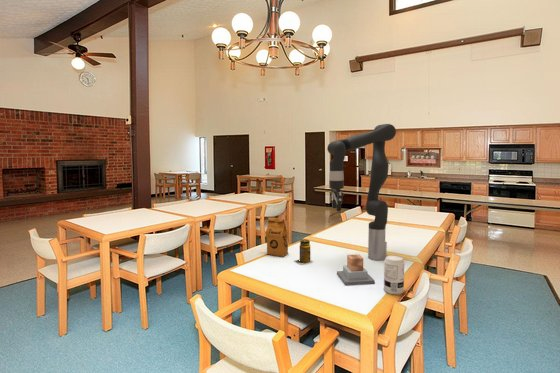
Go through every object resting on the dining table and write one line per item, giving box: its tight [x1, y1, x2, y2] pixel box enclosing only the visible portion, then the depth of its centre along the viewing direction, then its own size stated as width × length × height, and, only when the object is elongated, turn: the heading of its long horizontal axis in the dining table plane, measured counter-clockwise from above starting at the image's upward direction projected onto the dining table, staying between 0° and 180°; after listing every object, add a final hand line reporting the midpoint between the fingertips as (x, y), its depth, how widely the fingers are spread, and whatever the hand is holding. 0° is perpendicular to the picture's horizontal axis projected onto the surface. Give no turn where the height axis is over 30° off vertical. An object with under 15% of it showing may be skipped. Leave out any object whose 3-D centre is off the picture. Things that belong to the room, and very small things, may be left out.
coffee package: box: [265, 217, 289, 258], centre depth 199 cm, size 10×12×22 cm
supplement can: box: [383, 254, 405, 296], centre depth 146 cm, size 8×8×15 cm
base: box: [336, 265, 376, 286], centre depth 161 cm, size 14×14×5 cm
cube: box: [346, 253, 364, 271], centre depth 161 cm, size 6×6×6 cm
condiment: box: [294, 238, 314, 266], centre depth 186 cm, size 7×8×12 cm
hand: (336, 209), depth 180 cm, fingers open, 8 cm apart
